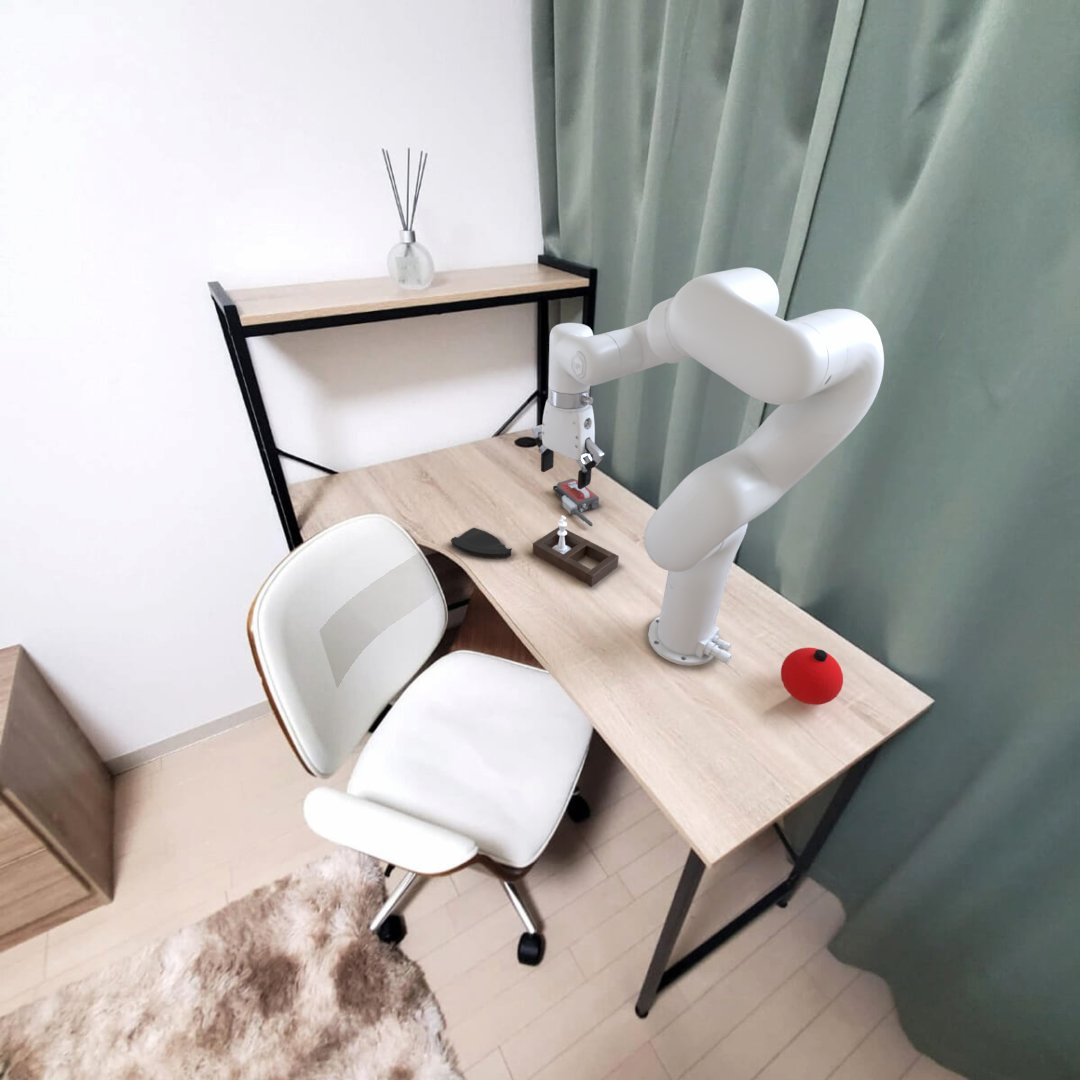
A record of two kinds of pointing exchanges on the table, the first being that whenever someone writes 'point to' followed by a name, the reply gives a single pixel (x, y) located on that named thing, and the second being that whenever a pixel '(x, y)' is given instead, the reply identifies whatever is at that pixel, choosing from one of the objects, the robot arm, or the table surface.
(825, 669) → the ornament
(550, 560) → the rack
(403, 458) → the table surface
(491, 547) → the curved wedge
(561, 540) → the chess piece
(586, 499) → the walkie-talkie
